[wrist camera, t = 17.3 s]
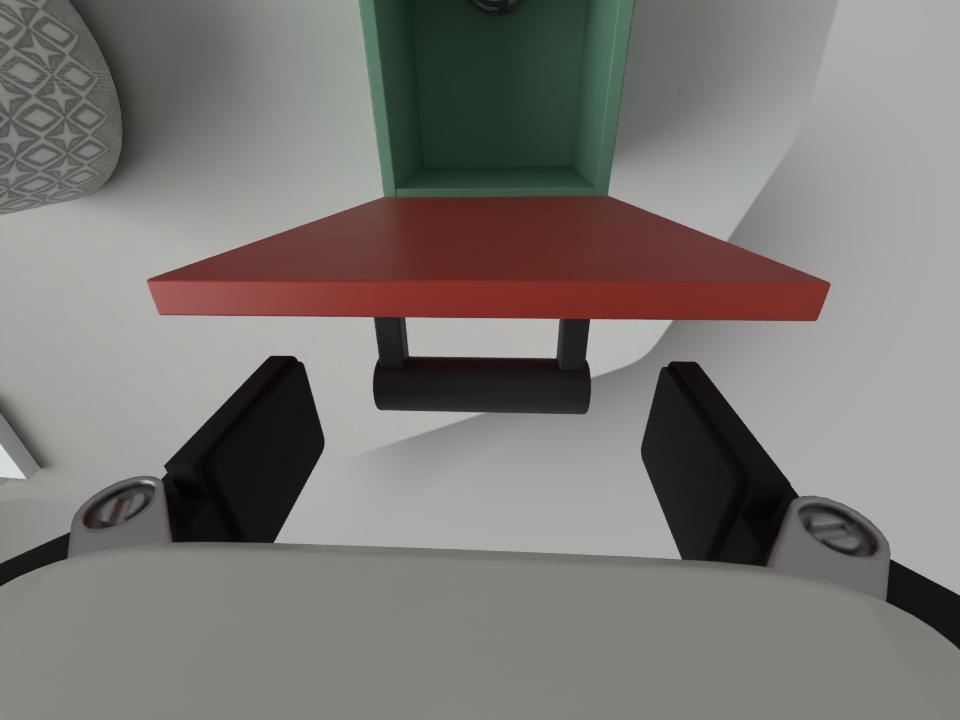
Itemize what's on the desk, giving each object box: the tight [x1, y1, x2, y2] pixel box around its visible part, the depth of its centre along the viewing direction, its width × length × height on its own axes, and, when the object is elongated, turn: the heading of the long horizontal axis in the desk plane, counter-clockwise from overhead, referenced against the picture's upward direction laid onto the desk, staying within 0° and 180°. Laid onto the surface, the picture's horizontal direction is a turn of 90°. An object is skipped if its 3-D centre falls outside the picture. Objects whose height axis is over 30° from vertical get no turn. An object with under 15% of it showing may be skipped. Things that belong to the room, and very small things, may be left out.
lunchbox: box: [359, 0, 635, 197], centre depth 25 cm, size 18×14×11 cm
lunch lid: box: [147, 196, 830, 414], centre depth 17 cm, size 18×14×5 cm
